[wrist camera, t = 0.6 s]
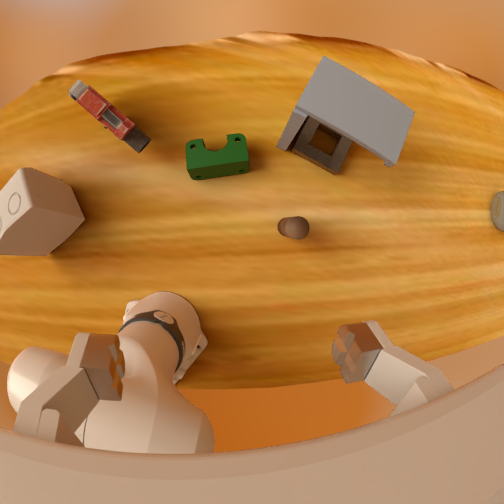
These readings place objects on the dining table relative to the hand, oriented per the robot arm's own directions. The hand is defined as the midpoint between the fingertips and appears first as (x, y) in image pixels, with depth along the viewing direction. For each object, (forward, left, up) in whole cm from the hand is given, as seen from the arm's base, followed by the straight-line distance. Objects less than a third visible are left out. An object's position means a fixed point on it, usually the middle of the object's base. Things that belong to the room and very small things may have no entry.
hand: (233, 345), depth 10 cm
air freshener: (+40, -59, -49) cm, 86 cm away
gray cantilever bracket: (+26, -6, -48) cm, 55 cm away
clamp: (+13, +11, -49) cm, 52 cm away
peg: (+7, -7, -48) cm, 49 cm away
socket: (+26, -6, -48) cm, 55 cm away
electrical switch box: (-12, +42, -49) cm, 66 cm away
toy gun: (+11, +33, -49) cm, 60 cm away
